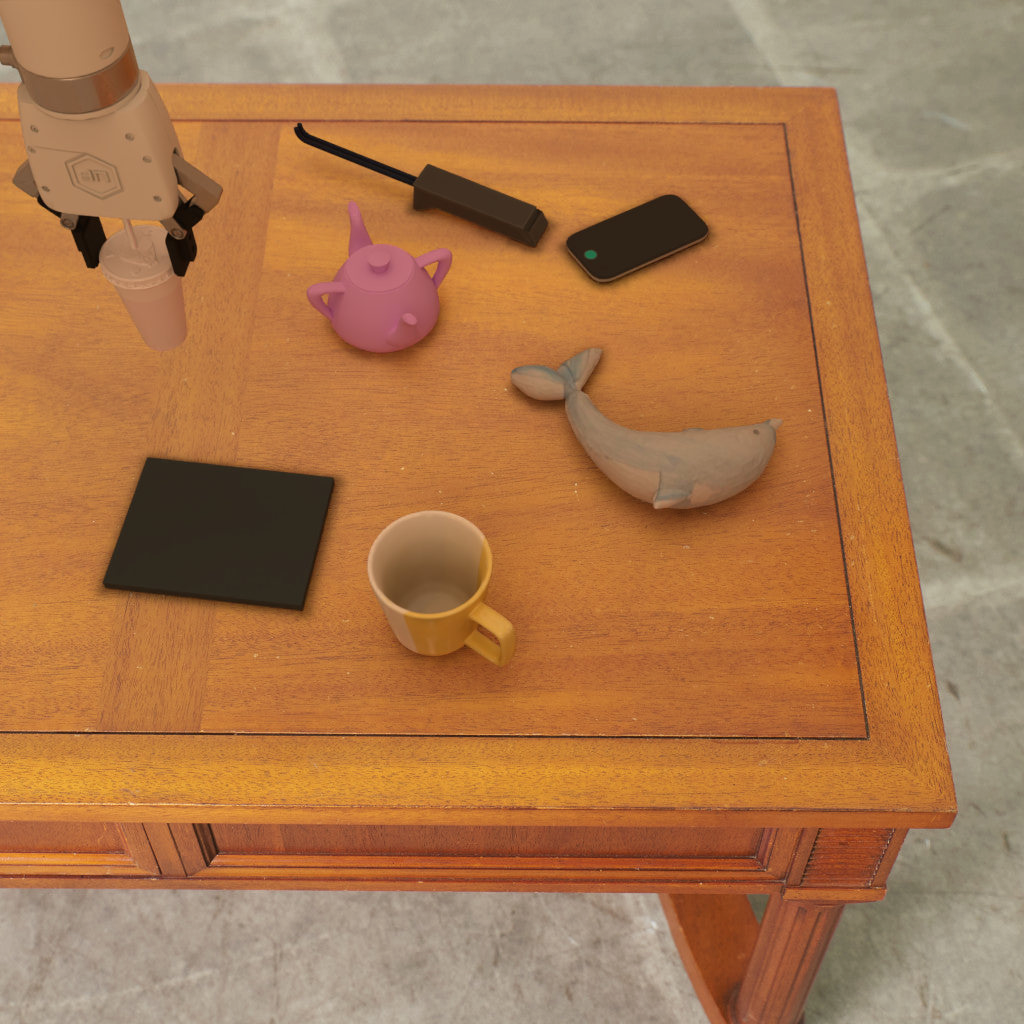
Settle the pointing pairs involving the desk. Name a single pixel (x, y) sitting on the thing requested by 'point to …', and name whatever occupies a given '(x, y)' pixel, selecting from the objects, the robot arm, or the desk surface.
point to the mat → (221, 533)
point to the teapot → (381, 293)
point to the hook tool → (453, 195)
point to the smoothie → (146, 283)
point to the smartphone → (636, 238)
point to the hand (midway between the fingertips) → (141, 258)
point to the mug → (438, 586)
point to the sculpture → (654, 443)
